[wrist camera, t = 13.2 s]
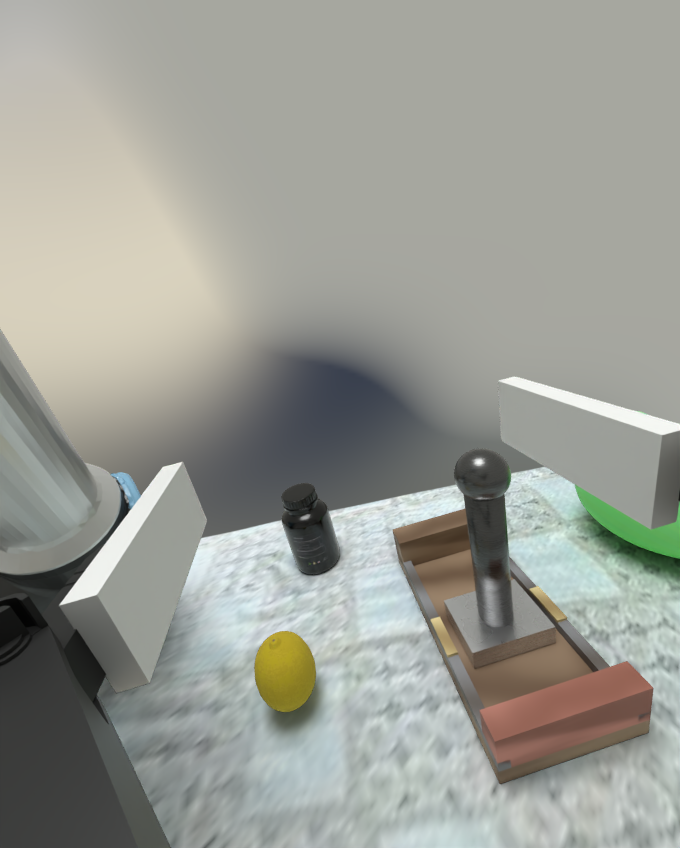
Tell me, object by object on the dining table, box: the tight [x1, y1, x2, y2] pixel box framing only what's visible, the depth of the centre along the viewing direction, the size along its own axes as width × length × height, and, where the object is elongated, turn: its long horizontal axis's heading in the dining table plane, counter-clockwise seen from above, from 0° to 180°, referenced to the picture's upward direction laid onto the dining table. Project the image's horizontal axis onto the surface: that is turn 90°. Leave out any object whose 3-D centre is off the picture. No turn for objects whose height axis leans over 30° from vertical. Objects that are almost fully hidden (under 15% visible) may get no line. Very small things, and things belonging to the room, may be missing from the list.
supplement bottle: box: [281, 483, 340, 574], centre depth 50 cm, size 7×7×12 cm
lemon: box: [254, 631, 316, 712], centre depth 33 cm, size 6×6×8 cm
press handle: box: [444, 449, 556, 668], centre depth 31 cm, size 6×8×20 cm
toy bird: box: [575, 411, 680, 559], centre depth 40 cm, size 18×17×15 cm
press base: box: [393, 509, 653, 784], centre depth 36 cm, size 24×12×6 cm, turn 9°
